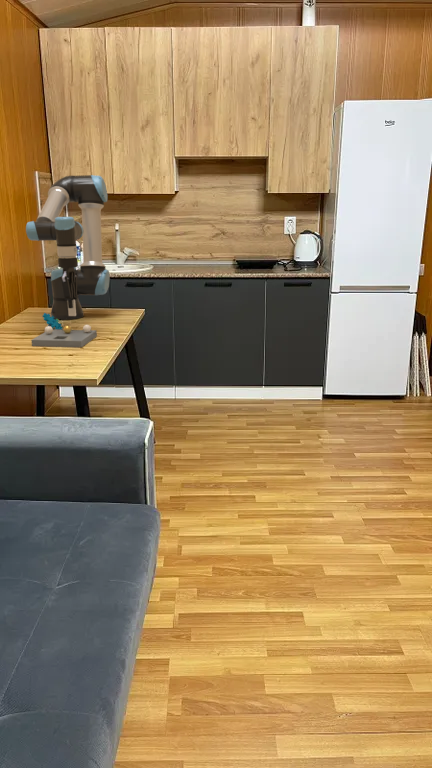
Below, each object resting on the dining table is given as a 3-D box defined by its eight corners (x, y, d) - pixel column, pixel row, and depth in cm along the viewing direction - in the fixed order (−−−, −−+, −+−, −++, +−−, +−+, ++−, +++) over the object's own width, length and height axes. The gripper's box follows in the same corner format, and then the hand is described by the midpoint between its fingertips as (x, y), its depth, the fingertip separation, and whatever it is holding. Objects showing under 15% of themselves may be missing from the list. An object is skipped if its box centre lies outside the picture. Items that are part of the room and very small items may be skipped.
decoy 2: (84, 331, 229) (84, 323, 228) (92, 331, 229) (91, 324, 228) (82, 333, 226) (81, 325, 225) (89, 333, 226) (89, 325, 225)
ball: (65, 332, 228) (64, 324, 227) (73, 332, 228) (72, 324, 227) (62, 334, 225) (61, 326, 224) (70, 334, 225) (69, 326, 224)
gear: (57, 329, 236) (40, 312, 236) (48, 339, 238) (31, 322, 237) (67, 327, 247) (51, 311, 247) (59, 336, 248) (43, 320, 248)
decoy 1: (47, 332, 227) (46, 325, 226) (54, 333, 227) (53, 325, 226) (43, 334, 224) (42, 326, 223) (51, 335, 224) (50, 327, 223)
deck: (50, 335, 234) (50, 329, 233) (96, 336, 232) (96, 330, 231) (32, 346, 217) (31, 339, 216) (81, 347, 215) (81, 341, 214)
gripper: (70, 258, 217) (75, 318, 224) (82, 255, 229) (86, 312, 237) (52, 258, 218) (57, 318, 225) (64, 255, 230) (69, 312, 237)
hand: (72, 315), depth 231 cm, fingers closed
